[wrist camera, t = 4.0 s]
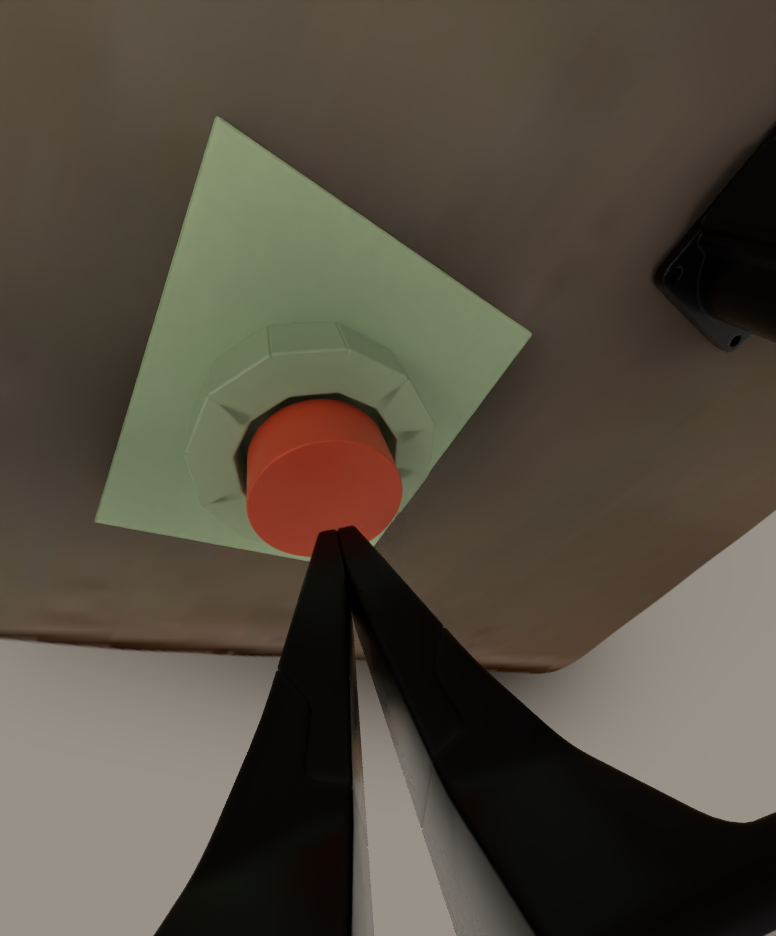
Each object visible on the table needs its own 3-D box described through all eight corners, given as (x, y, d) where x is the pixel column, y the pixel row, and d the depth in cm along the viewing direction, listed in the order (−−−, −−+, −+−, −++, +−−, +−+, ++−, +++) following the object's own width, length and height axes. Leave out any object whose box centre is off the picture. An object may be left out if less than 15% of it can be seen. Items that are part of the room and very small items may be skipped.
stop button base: (504, 314, 15) (569, 358, 12) (348, 538, 20) (365, 609, 17) (221, 119, 10) (207, 108, 7) (109, 484, 15) (73, 571, 12)
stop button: (408, 427, 12) (431, 469, 11) (345, 520, 14) (357, 567, 12) (281, 374, 10) (286, 416, 9) (226, 490, 12) (222, 542, 10)
